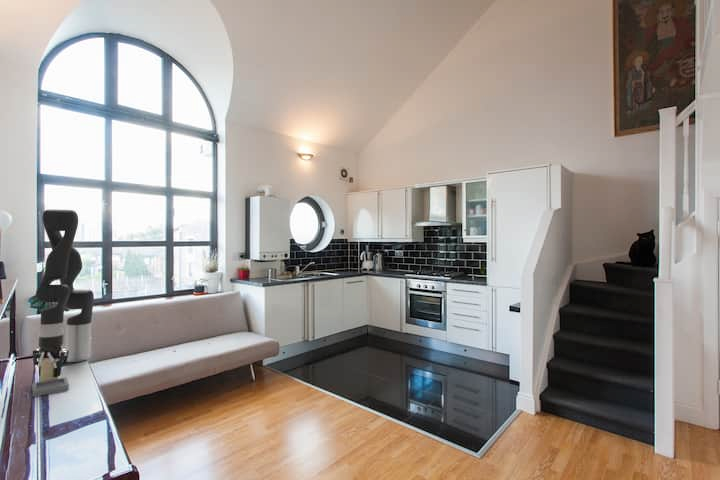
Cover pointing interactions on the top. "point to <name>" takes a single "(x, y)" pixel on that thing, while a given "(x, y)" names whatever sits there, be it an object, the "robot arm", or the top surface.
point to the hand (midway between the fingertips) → (49, 376)
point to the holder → (50, 386)
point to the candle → (47, 370)
